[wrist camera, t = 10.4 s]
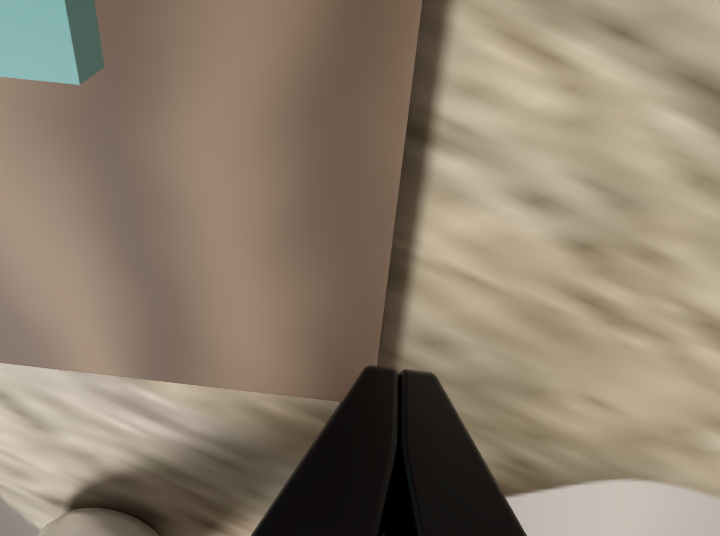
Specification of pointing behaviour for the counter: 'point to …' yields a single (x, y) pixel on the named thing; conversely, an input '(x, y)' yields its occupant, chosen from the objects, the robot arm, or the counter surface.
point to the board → (210, 195)
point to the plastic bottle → (96, 524)
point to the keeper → (50, 40)
